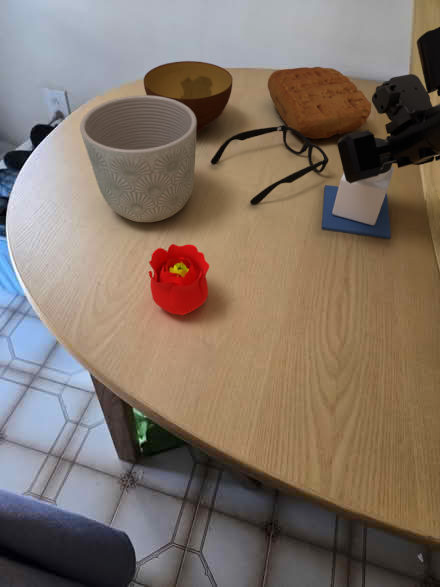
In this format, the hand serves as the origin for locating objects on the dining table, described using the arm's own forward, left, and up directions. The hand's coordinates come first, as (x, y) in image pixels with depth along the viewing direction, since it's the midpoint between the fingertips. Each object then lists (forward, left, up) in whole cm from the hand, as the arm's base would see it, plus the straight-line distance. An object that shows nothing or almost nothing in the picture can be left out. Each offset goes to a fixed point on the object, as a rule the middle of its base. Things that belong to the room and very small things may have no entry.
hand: (364, 162), depth 68 cm
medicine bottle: (-1, +1, -8) cm, 8 cm away
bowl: (+34, -21, -9) cm, 41 cm away
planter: (+34, +7, -9) cm, 36 cm away
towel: (-1, +1, -9) cm, 9 cm away
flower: (+23, +27, -9) cm, 37 cm away
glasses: (+15, -8, -9) cm, 20 cm away
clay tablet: (+8, -30, -9) cm, 32 cm away
